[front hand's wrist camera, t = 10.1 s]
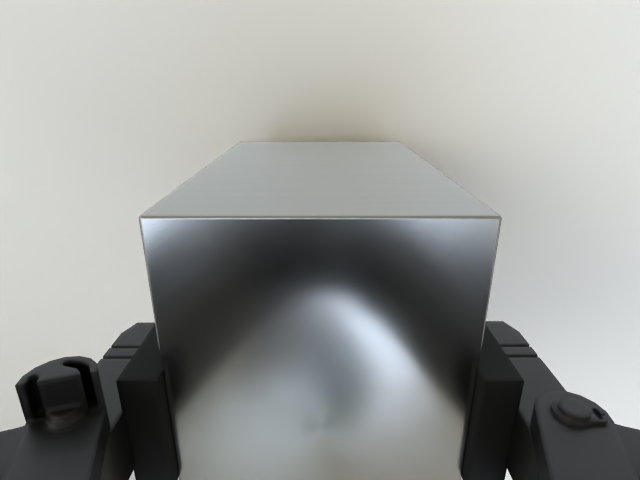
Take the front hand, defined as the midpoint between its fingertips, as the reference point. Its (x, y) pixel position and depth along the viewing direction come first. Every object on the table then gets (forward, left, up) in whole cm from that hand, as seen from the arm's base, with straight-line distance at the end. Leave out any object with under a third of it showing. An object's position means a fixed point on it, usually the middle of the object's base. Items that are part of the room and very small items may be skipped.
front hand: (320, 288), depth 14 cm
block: (0, 0, -3) cm, 3 cm away
